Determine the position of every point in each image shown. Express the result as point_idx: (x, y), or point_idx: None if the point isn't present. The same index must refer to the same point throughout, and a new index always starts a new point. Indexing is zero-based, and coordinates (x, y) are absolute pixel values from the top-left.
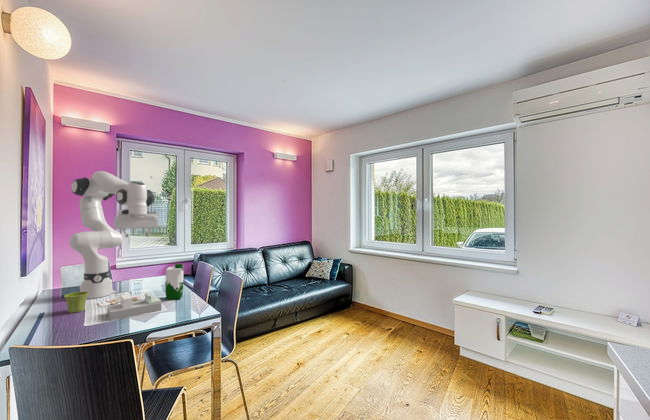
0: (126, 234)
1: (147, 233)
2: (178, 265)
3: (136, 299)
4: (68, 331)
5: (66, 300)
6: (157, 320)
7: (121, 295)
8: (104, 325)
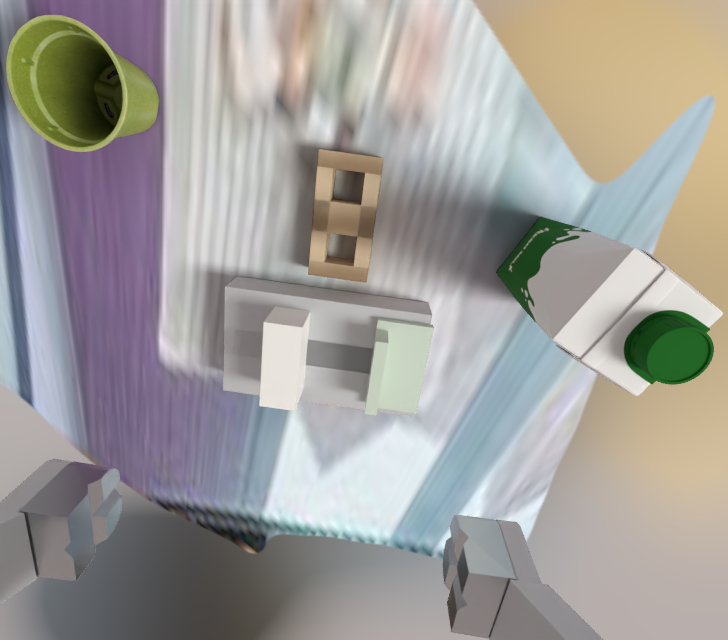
0: (43, 567)
1: (484, 635)
2: (653, 377)
3: (371, 216)
4: (117, 377)
5: (41, 92)
6: (355, 485)
7: (266, 328)
8: (213, 405)
